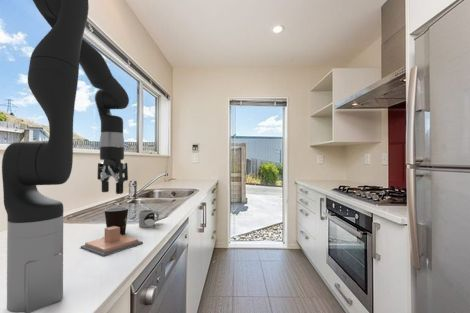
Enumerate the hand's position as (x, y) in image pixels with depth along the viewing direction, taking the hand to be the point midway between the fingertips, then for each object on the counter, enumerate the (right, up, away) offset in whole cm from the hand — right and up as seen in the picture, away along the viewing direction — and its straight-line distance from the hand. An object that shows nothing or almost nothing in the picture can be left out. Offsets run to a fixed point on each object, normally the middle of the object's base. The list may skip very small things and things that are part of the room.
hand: (112, 192), depth 87 cm
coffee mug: (-4, -19, +14) cm, 24 cm away
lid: (0, -18, 0) cm, 18 cm away
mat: (0, -18, 0) cm, 18 cm away
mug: (+4, -19, +27) cm, 33 cm away
